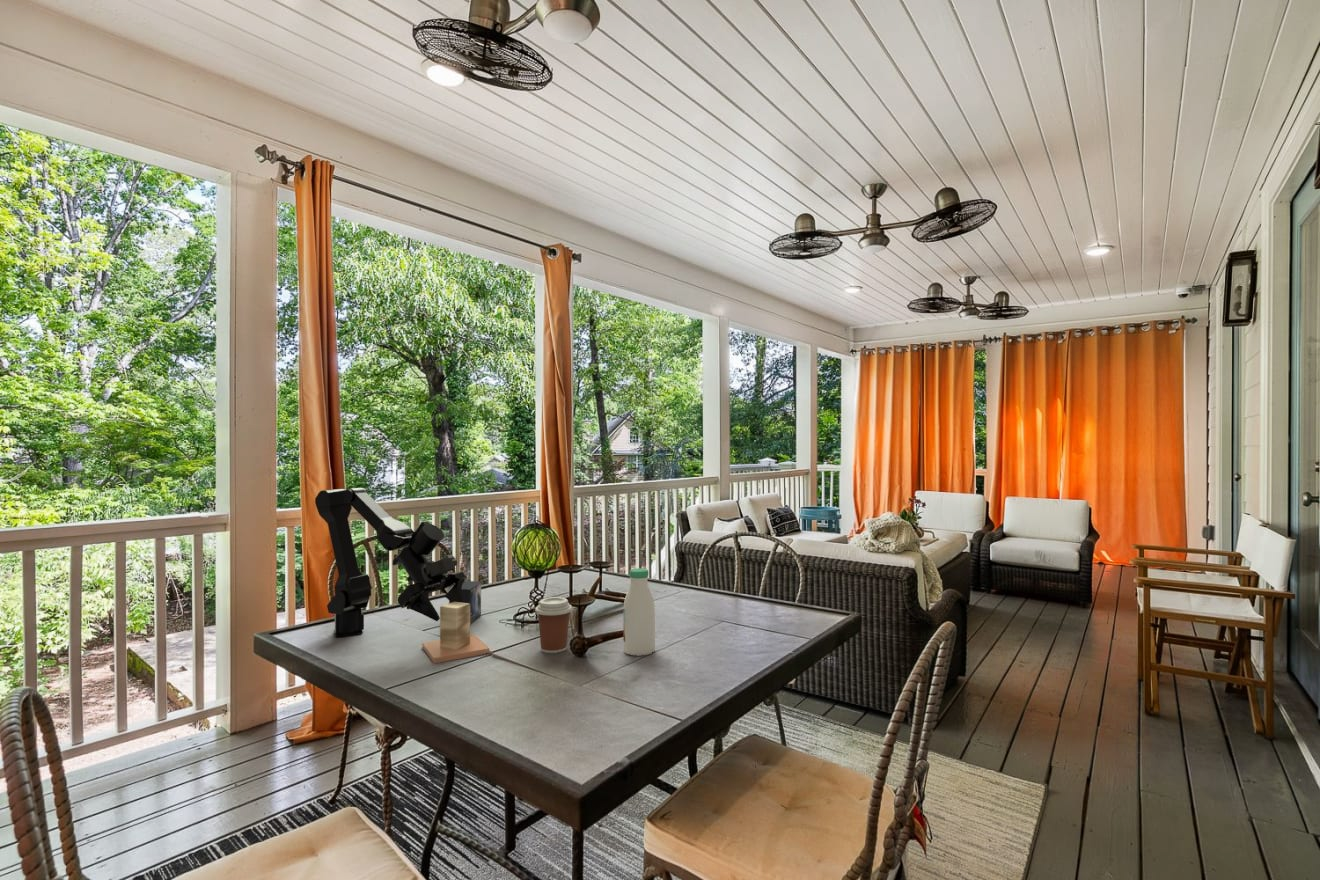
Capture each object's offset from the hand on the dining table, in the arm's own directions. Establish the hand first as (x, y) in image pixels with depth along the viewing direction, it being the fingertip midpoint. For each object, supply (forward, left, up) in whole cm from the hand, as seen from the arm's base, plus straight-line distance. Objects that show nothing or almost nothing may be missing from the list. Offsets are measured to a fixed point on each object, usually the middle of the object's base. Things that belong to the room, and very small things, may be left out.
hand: (451, 615), depth 153 cm
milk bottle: (+39, -26, -9) cm, 47 cm away
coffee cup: (+22, -13, -9) cm, 27 cm away
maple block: (+1, -1, -7) cm, 7 cm away
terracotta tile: (+1, -1, -9) cm, 9 cm away
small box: (+10, +24, -9) cm, 27 cm away
